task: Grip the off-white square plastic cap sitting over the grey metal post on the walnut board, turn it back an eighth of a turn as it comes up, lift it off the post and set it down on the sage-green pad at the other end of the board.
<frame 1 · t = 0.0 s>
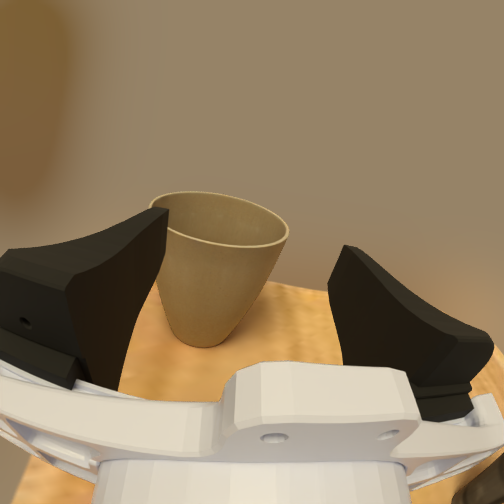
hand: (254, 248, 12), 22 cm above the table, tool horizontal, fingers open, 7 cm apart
plant pot: (199, 328, 38), on the table
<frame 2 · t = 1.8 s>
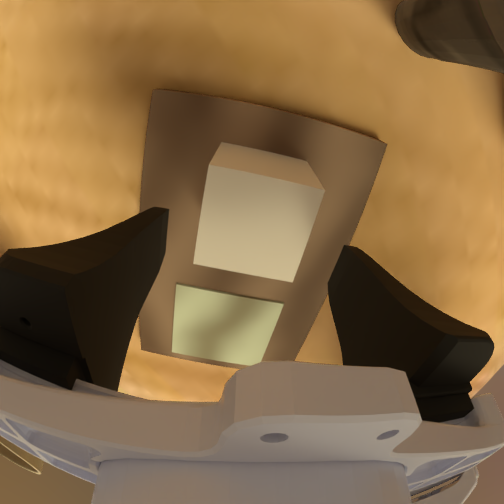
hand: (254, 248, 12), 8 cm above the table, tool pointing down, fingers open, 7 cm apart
plant pot: (37, 307, 26), on the table
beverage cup: (423, 27, 13), on the table
post board: (236, 261, 22), on the table
cap: (255, 190, 18), point 1 cm above the table, touching post board
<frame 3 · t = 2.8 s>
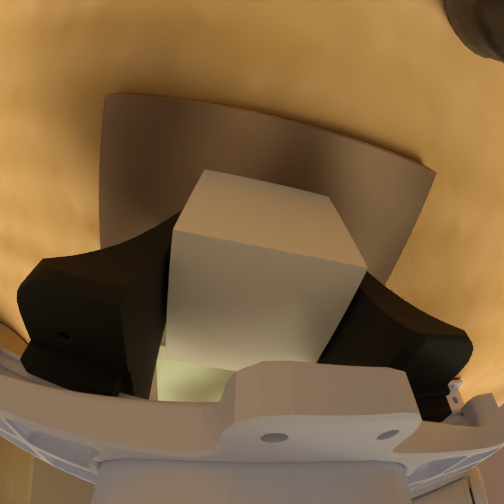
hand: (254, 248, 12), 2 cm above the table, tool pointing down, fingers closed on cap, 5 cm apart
plant pot: (11, 345, 21), on the table
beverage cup: (475, 17, 8), on the table
post board: (230, 317, 17), on the table
cap: (254, 237, 13), point 1 cm above the table, touching gripper, post board
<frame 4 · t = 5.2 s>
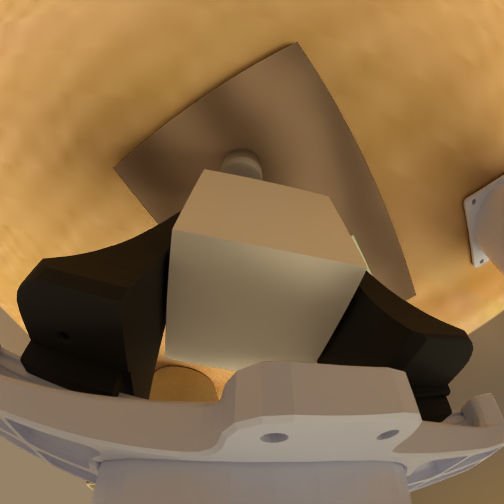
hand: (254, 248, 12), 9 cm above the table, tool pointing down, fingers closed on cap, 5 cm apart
plant pot: (182, 382, 33), on the table
post board: (288, 230, 22), on the table
cap: (253, 236, 13), point 8 cm above the table, touching gripper
when the fingers open (4 cm above the table, at t = 7.5 s): cap drops 2 cm, resting on post board.
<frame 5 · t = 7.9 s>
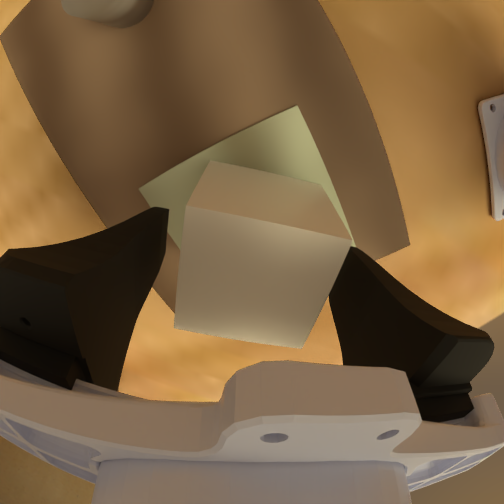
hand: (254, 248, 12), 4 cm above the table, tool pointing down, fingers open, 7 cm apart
plant pot: (80, 353, 23), on the table
post board: (194, 104, 12), on the table
cap: (254, 222, 14), point 1 cm above the table, touching post board
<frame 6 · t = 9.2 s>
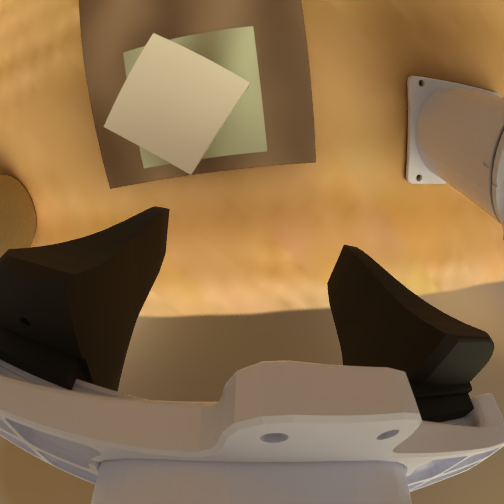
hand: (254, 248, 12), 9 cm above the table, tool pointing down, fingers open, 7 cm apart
plant pot: (10, 209, 21), on the table
post board: (186, 13, 14), on the table
cap: (192, 97, 16), point 1 cm above the table, touching post board
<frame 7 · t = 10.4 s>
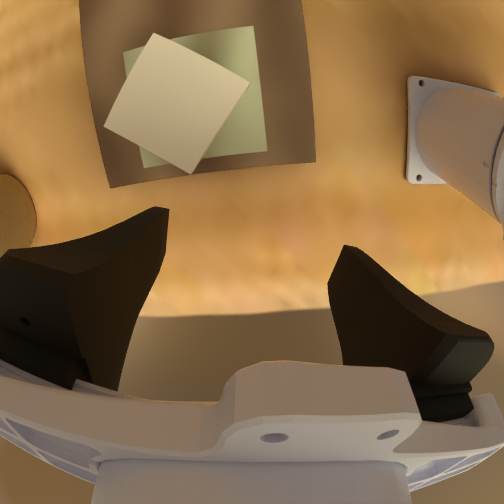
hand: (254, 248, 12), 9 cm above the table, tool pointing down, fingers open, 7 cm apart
plant pot: (10, 209, 21), on the table
post board: (186, 12, 14), on the table
cap: (192, 97, 16), point 1 cm above the table, touching post board
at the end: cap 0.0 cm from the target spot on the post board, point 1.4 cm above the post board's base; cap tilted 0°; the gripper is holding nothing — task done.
